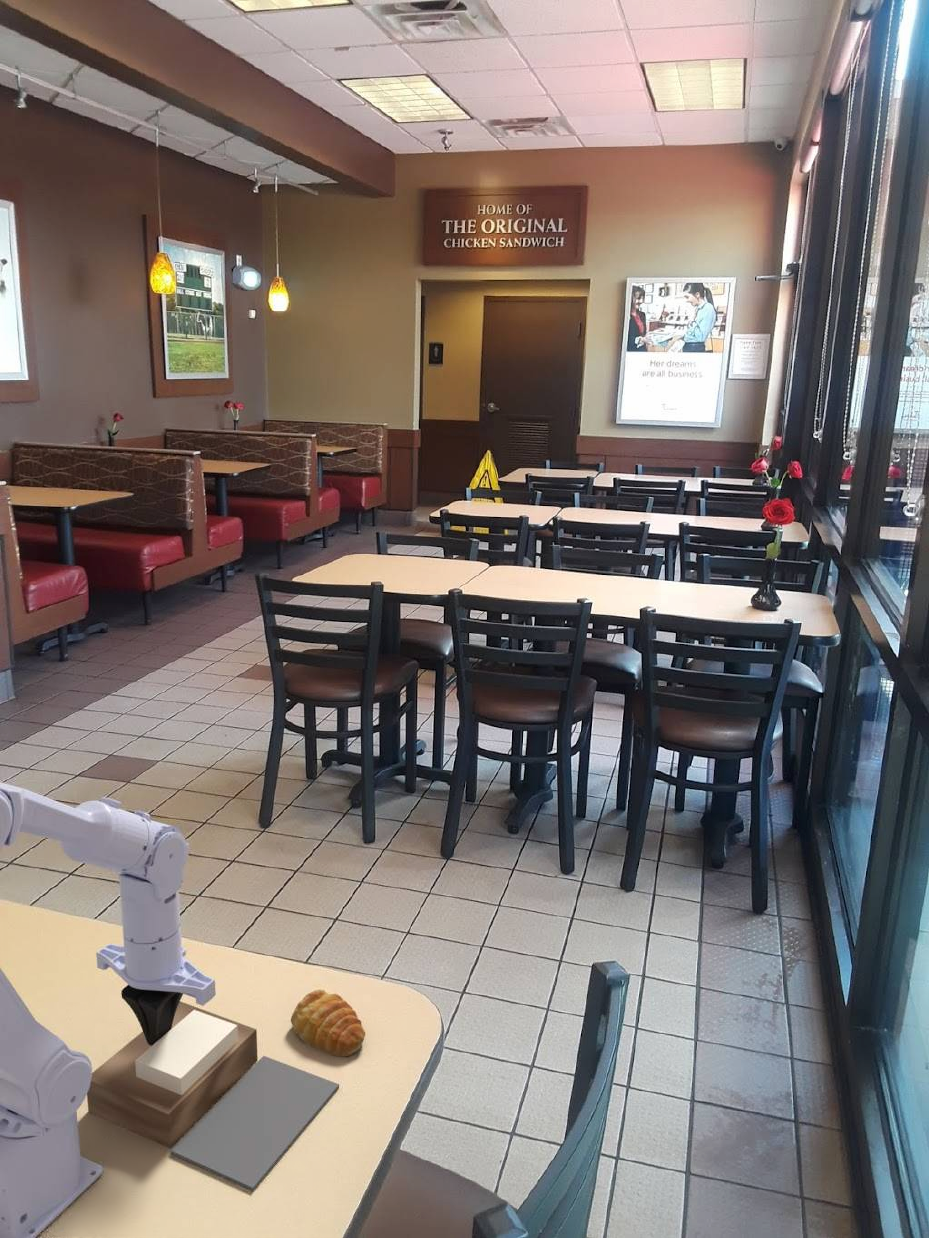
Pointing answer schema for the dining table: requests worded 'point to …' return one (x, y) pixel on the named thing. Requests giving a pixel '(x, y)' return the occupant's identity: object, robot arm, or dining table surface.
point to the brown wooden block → (155, 1106)
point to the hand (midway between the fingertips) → (159, 1040)
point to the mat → (255, 1122)
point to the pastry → (328, 1024)
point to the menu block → (186, 1052)
